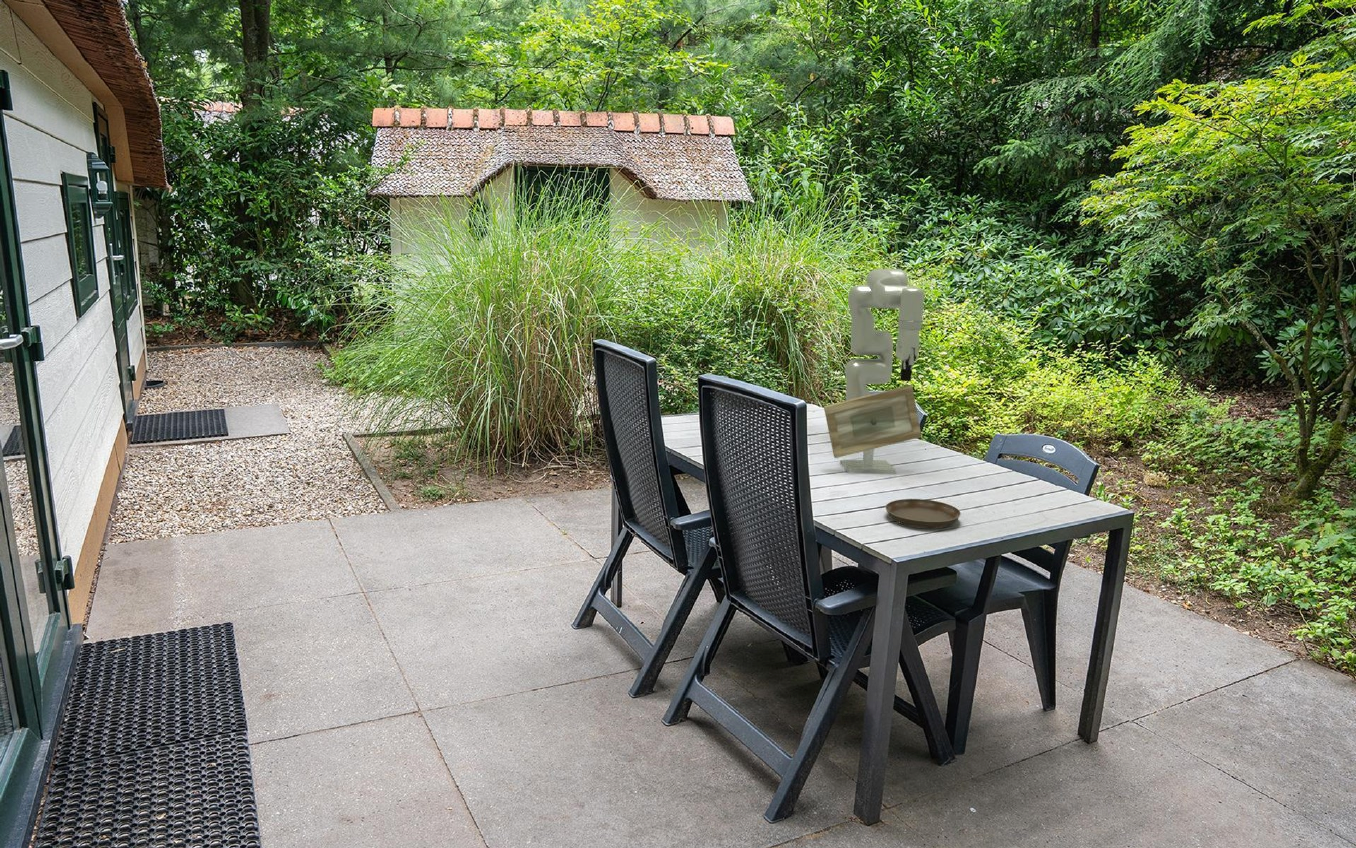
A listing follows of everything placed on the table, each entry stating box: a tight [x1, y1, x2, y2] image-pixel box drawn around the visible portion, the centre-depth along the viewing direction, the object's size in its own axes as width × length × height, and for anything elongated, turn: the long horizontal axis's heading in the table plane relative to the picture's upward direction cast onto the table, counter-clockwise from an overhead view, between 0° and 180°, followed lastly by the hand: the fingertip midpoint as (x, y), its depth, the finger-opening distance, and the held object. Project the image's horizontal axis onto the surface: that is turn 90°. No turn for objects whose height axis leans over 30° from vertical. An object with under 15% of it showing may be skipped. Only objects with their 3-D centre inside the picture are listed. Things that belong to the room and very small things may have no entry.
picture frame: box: [823, 384, 923, 459], centre depth 313 cm, size 3×30×18 cm, turn 94°
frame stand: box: [839, 449, 897, 475], centre depth 317 cm, size 12×16×18 cm
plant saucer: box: [885, 498, 962, 530], centre depth 265 cm, size 21×21×3 cm
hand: (905, 380), depth 311 cm, fingers closed
